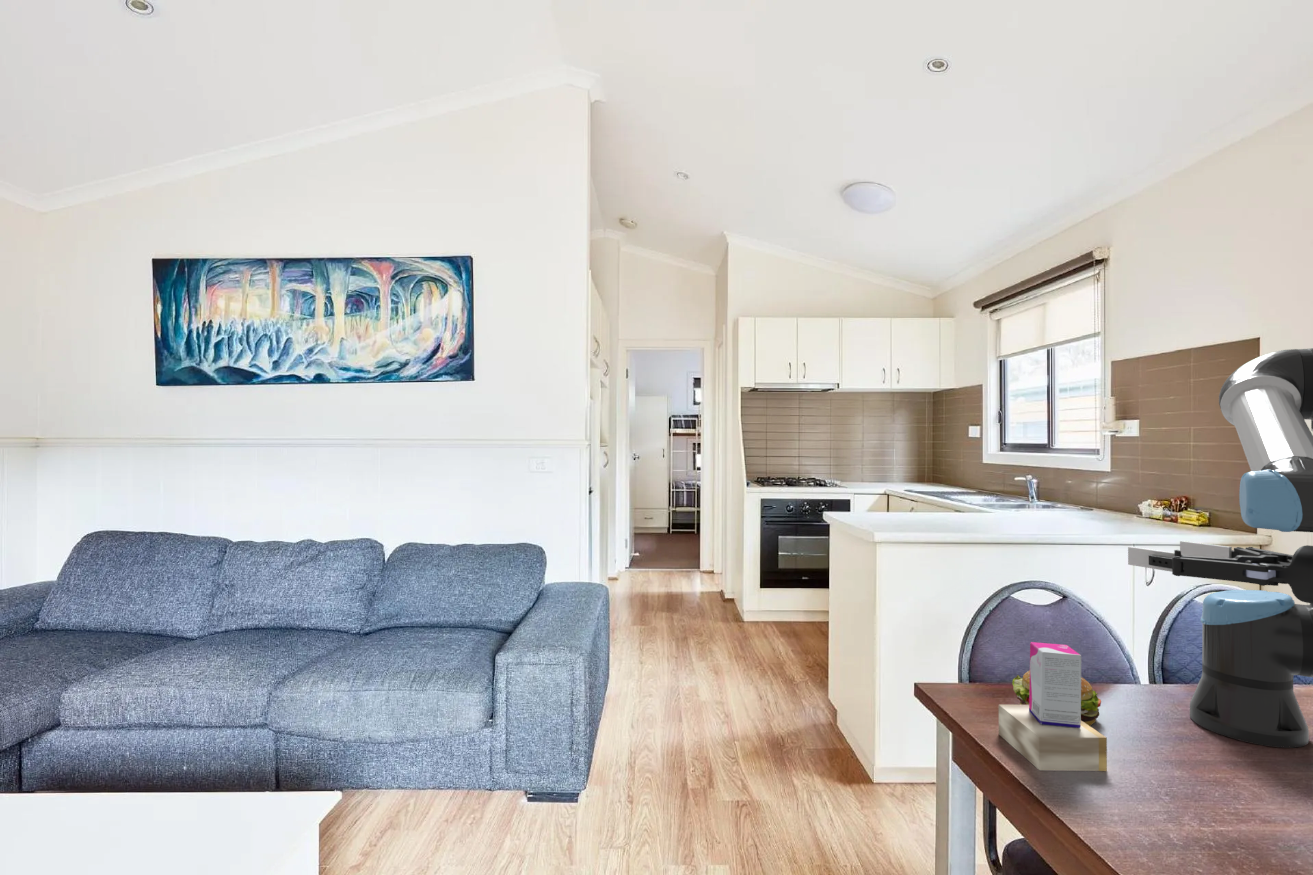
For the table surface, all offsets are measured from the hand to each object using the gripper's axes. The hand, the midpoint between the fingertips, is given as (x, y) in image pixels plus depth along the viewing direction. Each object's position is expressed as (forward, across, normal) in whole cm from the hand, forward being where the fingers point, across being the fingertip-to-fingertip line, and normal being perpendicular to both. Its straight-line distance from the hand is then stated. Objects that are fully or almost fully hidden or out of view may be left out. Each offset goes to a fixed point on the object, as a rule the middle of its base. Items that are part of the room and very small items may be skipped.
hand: (1155, 552), depth 102 cm
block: (+8, -14, -32) cm, 36 cm away
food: (+17, 0, -32) cm, 37 cm away
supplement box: (+8, -13, -27) cm, 31 cm away
